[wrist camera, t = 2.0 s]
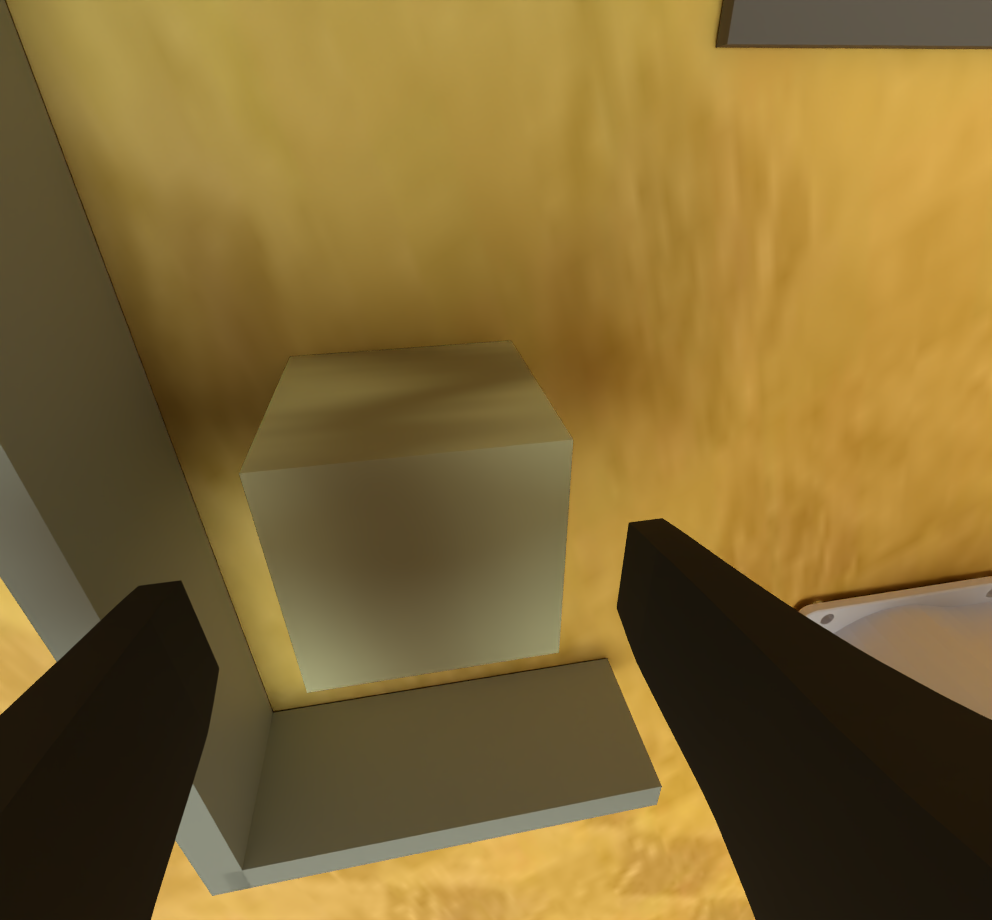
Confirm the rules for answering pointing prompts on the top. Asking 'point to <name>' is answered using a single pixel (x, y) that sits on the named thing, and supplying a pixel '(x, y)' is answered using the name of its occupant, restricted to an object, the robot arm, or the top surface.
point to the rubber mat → (856, 24)
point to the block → (412, 510)
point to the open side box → (188, 557)
